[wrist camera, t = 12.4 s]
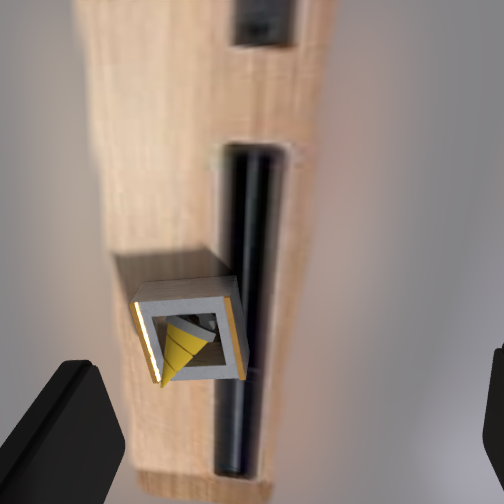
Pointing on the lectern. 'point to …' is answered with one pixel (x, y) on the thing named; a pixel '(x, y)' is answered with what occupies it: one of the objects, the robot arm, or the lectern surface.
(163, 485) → the lectern surface
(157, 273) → the lectern surface
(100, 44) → the lectern surface
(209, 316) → the drill bit
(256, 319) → the lectern surface
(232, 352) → the block
